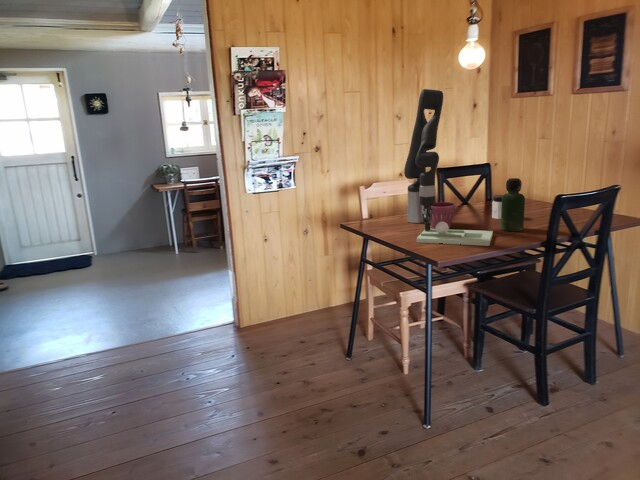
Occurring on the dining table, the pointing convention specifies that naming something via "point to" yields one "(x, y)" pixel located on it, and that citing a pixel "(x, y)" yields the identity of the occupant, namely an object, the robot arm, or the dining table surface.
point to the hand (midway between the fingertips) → (427, 230)
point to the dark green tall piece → (513, 207)
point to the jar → (496, 206)
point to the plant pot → (442, 213)
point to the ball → (442, 227)
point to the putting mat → (456, 237)
